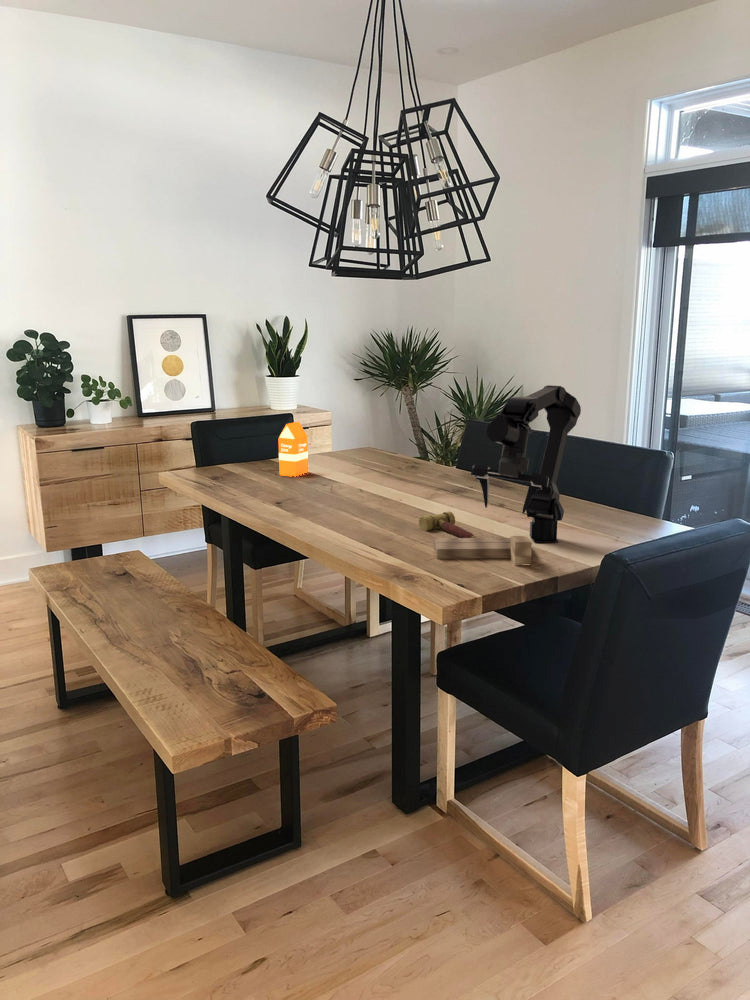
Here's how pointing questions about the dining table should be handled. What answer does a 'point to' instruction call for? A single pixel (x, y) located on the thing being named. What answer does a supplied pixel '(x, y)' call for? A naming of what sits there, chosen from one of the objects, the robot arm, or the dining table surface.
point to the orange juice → (293, 450)
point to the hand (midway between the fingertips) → (504, 510)
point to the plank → (472, 548)
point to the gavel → (443, 524)
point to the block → (520, 550)
